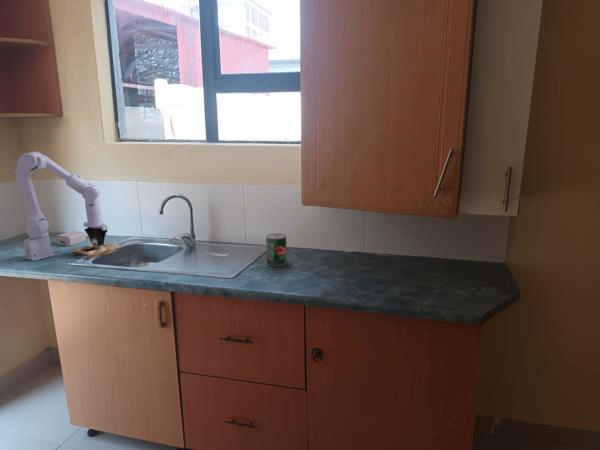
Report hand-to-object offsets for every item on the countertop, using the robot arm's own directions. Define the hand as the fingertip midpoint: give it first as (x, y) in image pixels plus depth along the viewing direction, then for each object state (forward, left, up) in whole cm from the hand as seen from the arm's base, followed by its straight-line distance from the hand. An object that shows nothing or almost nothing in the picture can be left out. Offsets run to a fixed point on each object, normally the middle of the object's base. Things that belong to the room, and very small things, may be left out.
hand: (97, 244), depth 193 cm
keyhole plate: (-1, 0, -3) cm, 4 cm away
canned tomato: (+28, -76, -4) cm, 81 cm away
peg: (0, 0, -3) cm, 3 cm away
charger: (+5, +26, -4) cm, 27 cm away
